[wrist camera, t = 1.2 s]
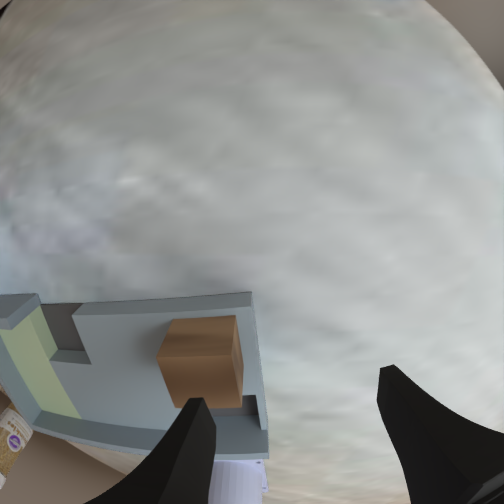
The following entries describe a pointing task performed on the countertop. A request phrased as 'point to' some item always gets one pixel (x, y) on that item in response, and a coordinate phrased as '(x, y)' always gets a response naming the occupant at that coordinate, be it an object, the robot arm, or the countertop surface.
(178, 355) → the block
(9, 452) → the sprinkles bottle
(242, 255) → the countertop surface
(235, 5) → the countertop surface
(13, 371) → the grey pocketed tray
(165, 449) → the robot arm
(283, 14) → the countertop surface
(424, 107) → the countertop surface
